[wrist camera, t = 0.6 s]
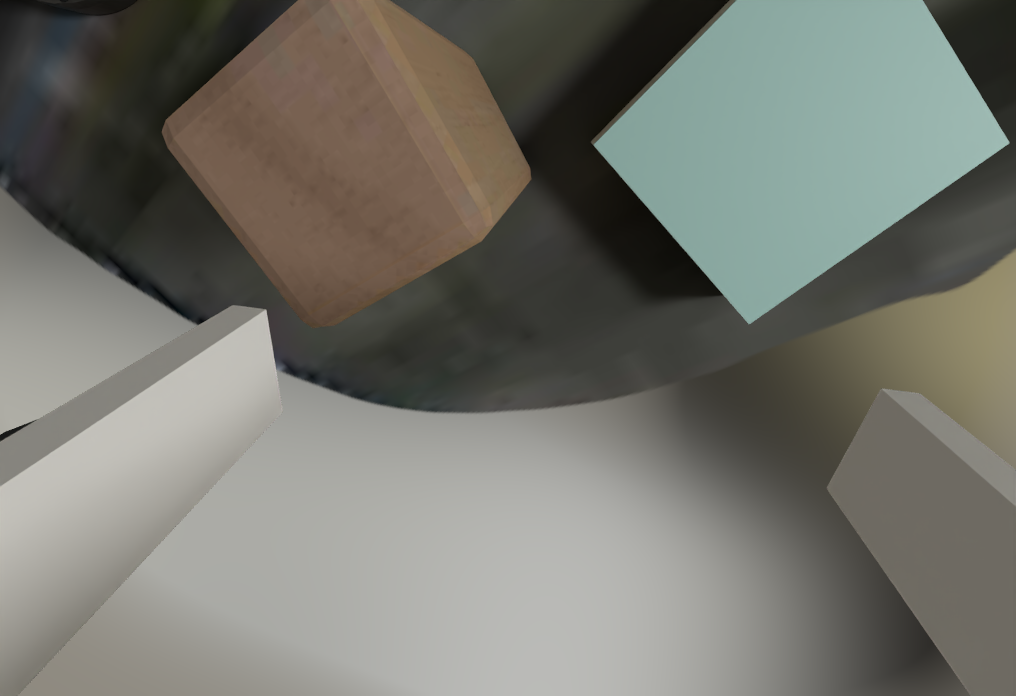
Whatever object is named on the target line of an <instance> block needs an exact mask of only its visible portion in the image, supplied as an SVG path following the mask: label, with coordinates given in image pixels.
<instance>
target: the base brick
mask: <svg viewBox="0 0 1016 696" xmlns="http://www.w3.org/2000/svg"><path fill="white" fill-rule="evenodd" d="M591 143H592V144H593V145H594V147H595V148H596V149H597V150H598V151H599V152H600V153H601V155H602V156H603V157H604V158H605V159H606V160H607V162H608V163H609V164H610V165H611V166H612V167H613V168H614V170H615V171H616V172H617V173H618V174H619V175H620V177H621V178H622V179H623V180H624V181H625V182H626V183H627V185H628V186H629V187H630V188H631V189H632V190H633V191H634V193H635V194H636V195H637V196H638V197H639V198H640V200H641V201H642V202H643V203H644V204H645V205H646V206H647V208H648V209H649V210H650V211H651V212H652V213H653V214H654V216H655V217H656V218H657V219H658V220H659V221H660V223H661V224H662V225H663V226H664V227H665V228H666V229H667V231H668V232H669V233H670V234H671V235H672V236H673V238H674V239H675V240H676V241H677V242H678V243H679V244H680V246H681V247H682V248H683V249H684V250H685V251H686V252H687V254H688V255H689V256H690V257H691V258H692V259H693V261H694V262H695V263H696V264H697V265H698V266H699V267H700V269H701V270H702V271H703V272H704V273H705V274H706V276H707V277H708V278H709V279H710V280H711V281H712V282H713V284H714V285H715V286H716V287H717V288H718V289H719V290H720V292H721V293H722V294H723V295H724V296H725V297H726V299H727V300H728V301H729V302H730V303H731V304H732V305H733V306H734V308H735V309H736V310H737V311H738V312H739V313H740V314H741V316H742V317H743V318H744V319H745V320H746V321H747V322H748V324H750V323H752V322H753V321H754V320H756V319H757V318H759V317H760V316H762V315H763V314H765V313H766V312H767V311H769V310H770V309H772V308H773V307H775V306H776V305H777V304H779V303H780V302H782V301H783V300H785V299H786V298H788V297H789V296H790V295H792V294H793V293H795V292H796V291H798V290H799V289H800V288H802V287H803V286H805V285H806V284H808V283H809V282H811V281H812V280H813V279H815V278H816V277H818V276H819V275H821V274H822V273H823V272H825V271H826V270H828V269H829V268H831V267H832V266H834V265H835V264H836V263H838V262H839V261H841V260H842V259H844V258H845V257H846V256H848V255H849V254H851V253H852V252H854V251H855V250H857V249H858V248H859V247H861V246H862V245H864V244H865V243H867V242H868V241H869V240H871V239H872V238H874V237H875V236H877V235H878V234H880V233H881V232H882V231H884V230H885V229H887V228H888V227H890V226H891V225H892V224H894V223H895V222H897V221H898V220H900V219H901V218H903V217H904V216H905V215H907V214H908V213H910V212H911V211H913V210H914V209H915V208H917V207H918V206H920V205H921V204H923V203H924V202H926V201H927V200H928V199H930V198H931V197H933V196H934V195H936V194H937V193H938V192H940V191H941V190H943V189H944V188H946V187H947V186H949V185H950V184H951V183H953V182H954V181H956V180H957V179H959V178H960V177H961V176H963V175H964V174H966V173H967V172H969V171H970V170H972V169H973V168H974V167H976V166H977V165H979V164H980V163H982V162H983V161H984V160H986V159H987V158H989V157H990V156H992V155H993V154H995V153H996V152H997V151H999V150H1000V149H1002V148H1003V147H1005V146H1006V145H1007V144H1009V141H1008V139H1007V138H1006V136H1005V135H1004V133H1003V131H1002V130H1001V128H1000V126H999V125H998V123H997V121H996V120H995V118H994V117H993V115H992V113H991V112H990V110H989V108H988V107H987V105H986V103H985V102H984V100H983V99H982V97H981V95H980V94H979V92H978V90H977V89H976V87H975V85H974V84H973V82H972V81H971V79H970V77H969V76H968V74H967V72H966V71H965V69H964V67H963V66H962V64H961V63H960V61H959V59H958V58H957V56H956V54H955V53H954V51H953V49H952V48H951V46H950V44H949V43H948V41H947V40H946V38H945V36H944V35H943V33H942V31H941V30H940V28H939V26H938V25H937V23H936V22H935V20H934V18H933V17H932V15H931V13H930V12H929V10H928V8H927V7H926V5H925V4H924V2H923V0H729V1H728V2H727V3H726V4H725V5H724V6H723V8H722V9H721V10H720V11H719V12H718V13H717V14H716V15H715V16H714V17H713V18H712V19H711V20H710V21H709V22H708V23H707V24H706V25H705V26H704V27H703V28H702V29H701V30H700V31H699V32H698V33H697V34H696V35H695V36H694V37H693V38H692V39H691V40H690V41H689V42H688V43H687V44H686V45H685V46H684V47H683V48H682V49H681V50H680V51H679V52H678V53H677V54H676V55H675V56H674V57H673V58H672V59H671V60H670V61H669V62H668V63H667V64H666V65H665V67H664V68H663V69H662V70H661V71H660V72H659V73H658V74H657V75H656V76H655V77H654V78H653V79H652V80H651V81H650V82H649V83H648V84H647V85H646V86H645V87H644V88H643V89H642V90H641V91H640V92H639V93H638V94H637V95H636V96H635V97H634V98H633V99H632V100H631V101H630V102H629V103H628V104H627V105H626V106H625V107H624V108H623V109H622V110H621V111H620V112H619V113H618V114H617V115H616V116H615V117H614V118H613V119H612V120H611V121H610V122H609V123H608V125H607V126H606V127H605V128H604V129H603V130H602V131H601V132H600V133H599V134H598V135H597V136H596V137H595V138H594V139H593V140H592V141H591Z"/></svg>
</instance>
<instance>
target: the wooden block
mask: <svg viewBox="0 0 1016 696" xmlns="http://www.w3.org/2000/svg"><path fill="white" fill-rule="evenodd" d="M162 134H163V137H164V139H165V142H166V145H167V147H168V149H169V150H170V151H171V153H172V154H173V155H174V157H175V158H176V159H177V161H178V162H179V163H180V164H181V166H182V167H183V168H184V170H185V171H186V172H187V173H188V175H189V176H190V177H191V179H192V180H193V181H194V182H195V184H196V185H197V186H198V188H199V189H200V190H201V191H202V193H203V194H204V195H205V197H206V198H207V199H208V200H209V202H210V203H211V204H212V206H213V207H214V208H215V210H216V211H217V212H218V213H219V215H220V216H221V217H222V219H223V220H224V221H225V222H226V224H227V225H228V226H229V228H230V229H231V230H232V231H233V233H234V234H235V235H236V237H237V238H238V239H239V240H240V242H241V243H242V244H243V246H244V247H245V248H246V249H247V251H248V252H249V253H250V255H251V256H252V257H253V258H254V260H255V261H256V262H257V264H258V265H259V266H260V268H261V269H262V270H263V271H264V273H265V274H266V275H267V277H268V278H269V279H270V280H271V282H272V283H273V284H274V286H275V287H276V288H277V289H278V291H279V292H280V293H281V295H282V296H283V297H284V298H285V300H286V301H287V302H288V304H289V305H290V306H291V307H292V309H293V310H294V311H295V313H296V314H297V315H298V317H299V318H300V319H301V320H302V321H304V322H305V323H306V324H308V325H309V326H311V327H312V328H316V327H322V326H334V325H336V324H338V323H340V322H341V321H343V320H345V319H346V318H348V317H350V316H352V315H353V314H355V313H357V312H359V311H360V310H362V309H364V308H366V307H367V306H369V305H371V304H373V303H374V302H376V301H378V300H380V299H381V298H383V297H385V296H387V295H388V294H390V293H392V292H394V291H395V290H397V289H399V288H401V287H402V286H404V285H406V284H408V283H409V282H411V281H413V280H415V279H416V278H418V277H420V276H422V275H423V274H425V273H427V272H428V271H430V270H432V269H434V268H435V267H437V266H439V265H441V264H442V263H444V262H446V261H448V260H449V259H451V258H453V257H455V256H456V255H458V254H460V253H462V252H463V251H465V250H467V249H469V248H470V247H472V246H474V245H476V244H477V243H479V242H481V241H482V240H483V239H484V238H485V236H486V235H487V234H488V233H489V231H490V230H491V229H492V228H493V226H494V225H495V224H496V223H497V222H498V220H499V219H500V218H501V217H502V215H503V214H504V213H505V212H506V210H507V209H508V208H509V207H510V205H511V204H512V203H513V202H514V200H515V199H516V198H517V197H518V195H519V194H520V193H521V192H522V190H523V189H524V188H525V187H526V185H527V184H528V183H529V181H530V180H531V171H530V167H529V165H528V163H527V161H526V159H525V157H524V155H523V153H522V151H521V149H520V148H519V146H518V144H517V142H516V140H515V138H514V136H513V134H512V132H511V130H510V128H509V127H508V125H507V123H506V121H505V119H504V117H503V115H502V113H501V111H500V109H499V107H498V105H497V104H496V102H495V100H494V98H493V96H492V94H491V92H490V90H489V88H488V86H487V84H486V82H485V81H484V79H483V77H482V75H481V73H480V71H479V69H478V67H477V65H476V63H475V61H474V60H473V58H472V57H471V56H470V55H468V54H467V53H466V52H465V51H464V50H462V49H461V48H459V47H458V46H456V45H455V44H453V43H452V42H450V41H449V40H448V39H446V38H445V37H443V36H442V35H440V34H439V33H437V32H436V31H434V30H433V29H431V28H430V27H428V26H427V25H425V24H424V23H422V22H421V21H420V20H418V19H417V18H415V17H414V16H412V15H411V14H409V13H408V12H406V11H405V10H403V9H402V8H400V7H399V6H397V5H396V4H394V3H393V2H392V1H390V0H298V1H297V2H296V3H295V4H293V5H292V6H291V7H290V8H289V9H288V10H287V11H286V12H285V13H284V14H282V15H281V16H280V17H279V18H278V19H277V20H276V21H275V22H274V23H272V24H271V25H270V26H269V27H268V28H267V29H266V30H265V31H264V32H263V33H261V34H260V35H259V36H258V37H257V38H256V39H255V40H254V41H253V42H251V43H250V44H249V45H248V46H247V47H246V48H245V49H244V50H243V51H242V52H240V53H239V54H238V55H237V56H236V57H235V58H234V59H233V60H232V61H231V62H229V63H228V64H227V65H226V66H225V67H224V68H223V69H222V70H221V71H219V72H218V73H217V74H216V75H215V76H214V77H213V78H212V79H211V80H210V81H208V82H207V83H206V84H205V85H204V86H203V87H202V88H201V89H200V90H199V91H197V92H196V93H195V94H194V95H193V96H192V97H191V98H190V99H189V100H187V101H186V102H185V103H184V104H183V105H182V106H181V107H180V108H179V109H178V110H176V111H175V112H174V113H173V114H172V115H171V116H170V117H169V118H168V119H166V121H165V124H164V127H163V129H162Z"/></svg>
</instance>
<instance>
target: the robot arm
mask: <svg viewBox="0 0 1016 696" xmlns="http://www.w3.org/2000/svg"><path fill="white" fill-rule="evenodd" d="M36 1H39V2H41V3H44V4H47V5H50V6H53V7H58V8H62V9H66V10H70V11H75V12H79V13H84V14H91V15H104V14H111V13H114V12H118V11H120V10H123V9H125V8H127V7H128V6H130V5H131V4H133V3H134V2H135V1H137V0H36ZM282 412H283V409H282V404H281V397H280V392H279V385H278V379H277V373H276V367H275V361H274V355H273V349H272V342H271V336H270V330H269V324H268V318H267V312H266V309H259V308H251V307H243V306H235V305H232V306H231V307H229V308H227V309H225V310H224V311H222V312H220V313H219V314H217V315H215V316H213V317H212V318H210V319H208V320H207V321H205V322H203V323H202V324H200V325H198V326H196V327H195V328H193V329H191V330H190V331H188V332H186V333H185V334H183V335H181V336H180V337H178V338H176V339H174V340H173V341H171V342H169V343H167V344H166V345H164V346H162V347H161V348H159V349H157V350H155V351H154V352H152V353H150V354H149V355H147V356H145V357H144V358H142V359H140V360H138V361H137V362H135V363H133V364H132V365H130V366H128V367H127V368H125V369H123V370H122V371H120V372H118V373H116V374H115V375H113V376H111V377H109V378H108V379H106V380H104V381H103V382H101V383H99V384H98V385H96V386H94V387H92V388H91V389H89V390H87V391H86V392H84V393H82V394H81V395H79V396H77V397H75V398H74V399H72V400H70V401H69V402H67V403H65V404H64V405H62V406H60V407H58V408H57V409H55V410H53V411H52V412H50V413H48V414H46V415H45V416H43V417H41V418H40V419H38V420H35V421H32V422H30V423H27V424H24V425H22V426H19V427H17V428H14V429H12V430H9V431H6V432H4V433H3V434H1V435H0V696H18V695H19V694H20V693H21V691H22V690H23V689H24V688H25V687H26V686H27V685H28V684H29V683H30V682H31V681H32V680H33V679H34V678H35V677H36V676H37V674H38V673H39V672H40V671H41V670H42V669H43V668H44V667H45V666H46V665H47V663H49V661H50V660H51V659H52V658H53V657H54V656H55V655H56V654H57V653H58V652H59V651H60V650H61V649H62V648H63V647H64V646H65V644H66V643H67V642H68V641H69V640H70V639H71V638H72V637H73V636H74V635H75V634H76V633H77V632H78V630H79V629H80V628H81V627H82V626H83V625H84V624H85V623H86V622H87V621H88V620H89V619H90V618H91V617H92V616H93V615H94V613H95V612H96V611H97V610H98V609H99V608H100V607H101V606H102V605H103V604H104V603H105V602H106V600H108V598H109V597H110V596H111V595H112V594H113V593H114V592H115V591H116V590H117V589H118V588H119V587H120V586H121V584H122V583H123V582H124V581H125V580H126V579H127V578H128V577H129V576H130V575H131V574H132V573H133V572H134V571H135V570H136V568H137V567H138V566H139V565H140V564H141V563H142V562H143V561H144V560H145V559H146V558H147V557H148V556H149V555H150V554H151V552H152V551H153V550H154V549H155V548H156V547H157V546H158V545H159V544H160V543H161V541H163V540H164V539H165V537H166V536H167V535H168V534H169V533H170V532H171V531H172V530H173V529H174V528H175V527H176V525H178V524H179V522H180V521H181V520H182V519H183V518H184V517H185V516H186V515H187V514H188V513H189V512H190V511H191V509H192V508H193V507H194V506H195V505H196V504H197V503H198V502H199V501H200V500H201V499H202V498H203V497H204V495H206V493H208V491H209V490H210V489H211V488H212V487H213V486H214V485H215V484H216V483H217V482H218V481H219V480H220V479H221V478H222V476H223V475H224V474H225V473H226V472H227V471H228V470H229V469H230V468H231V467H232V466H233V465H234V463H235V462H236V461H237V460H238V459H239V458H240V457H241V456H242V455H243V454H244V453H245V452H246V451H247V450H248V448H250V446H251V445H252V444H253V443H254V442H255V441H256V440H257V439H258V438H259V437H260V436H261V435H262V434H263V433H264V431H265V430H266V429H267V428H268V427H269V426H270V425H271V424H272V423H273V422H274V421H275V419H277V417H278V416H279V415H280V414H281V413H282ZM827 490H828V491H829V493H830V494H831V495H832V497H833V498H834V500H835V501H836V502H837V504H838V505H839V507H840V508H841V510H842V511H843V513H844V514H845V515H846V517H847V518H848V520H849V521H850V523H851V524H852V526H853V527H854V528H855V530H856V531H857V533H858V534H859V536H860V537H861V539H862V540H863V541H864V543H865V544H866V546H867V547H868V549H869V550H870V551H871V553H872V554H873V556H874V557H875V559H876V560H877V561H878V563H879V564H880V566H881V567H882V569H883V570H884V571H885V573H886V575H887V576H888V577H889V579H890V580H891V582H892V583H893V585H894V586H895V587H896V589H897V590H898V592H899V593H900V595H901V596H902V598H903V599H904V600H905V602H906V603H907V605H908V606H909V608H910V609H911V610H912V612H913V613H914V615H915V616H916V618H917V619H918V620H919V622H920V623H921V625H922V626H923V628H924V629H925V631H926V632H927V633H928V635H929V636H930V638H931V639H932V641H933V642H934V644H935V645H936V646H937V648H938V649H939V651H940V652H941V654H942V655H943V656H944V658H945V659H946V661H947V662H948V664H949V665H950V667H951V668H952V669H953V671H954V672H955V673H956V675H957V677H958V678H959V680H960V681H961V682H962V684H963V685H964V687H965V688H966V690H967V691H968V692H969V694H970V695H971V696H1016V470H1015V469H1014V468H1013V467H1012V466H1010V465H1009V464H1008V463H1007V462H1005V461H1004V460H1003V459H1001V458H1000V457H999V456H998V455H997V454H995V453H994V452H993V451H991V450H990V449H989V448H988V447H986V446H985V445H984V444H983V443H981V442H980V441H979V440H978V439H976V438H975V437H974V436H972V435H971V434H970V433H969V432H968V431H966V430H965V429H964V428H963V427H961V426H960V425H959V424H958V423H956V422H955V421H954V420H952V419H951V418H950V417H949V416H947V415H946V414H945V413H944V412H942V411H941V410H940V409H939V408H937V407H936V406H935V405H934V404H932V403H931V402H930V401H928V400H927V399H926V398H925V397H924V396H922V395H921V394H920V393H912V392H904V391H896V390H889V389H881V390H880V391H879V393H878V395H877V397H876V399H875V401H874V402H873V404H872V406H871V408H870V410H869V412H868V413H867V415H866V417H865V419H864V421H863V423H862V424H861V426H860V428H859V430H858V432H857V433H856V435H855V437H854V439H853V441H852V443H851V444H850V446H849V448H848V450H847V452H846V454H845V456H844V457H843V459H842V461H841V463H840V465H839V466H838V468H837V470H836V472H835V474H834V476H833V477H832V479H831V481H830V483H829V485H828V487H827Z"/></svg>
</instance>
